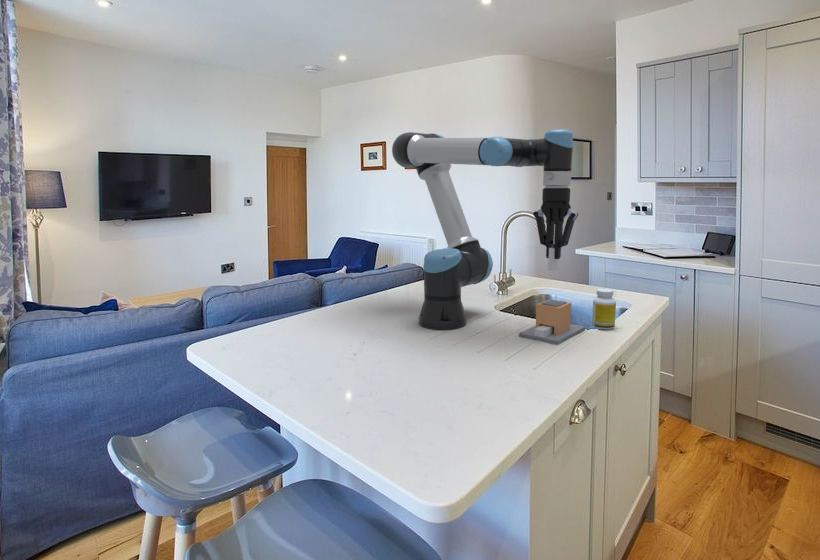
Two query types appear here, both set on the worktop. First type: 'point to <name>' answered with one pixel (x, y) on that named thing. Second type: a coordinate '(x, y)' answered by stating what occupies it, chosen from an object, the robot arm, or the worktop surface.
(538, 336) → the rail board
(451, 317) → the robot arm
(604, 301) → the pill bottle
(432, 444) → the worktop surface
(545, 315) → the block
